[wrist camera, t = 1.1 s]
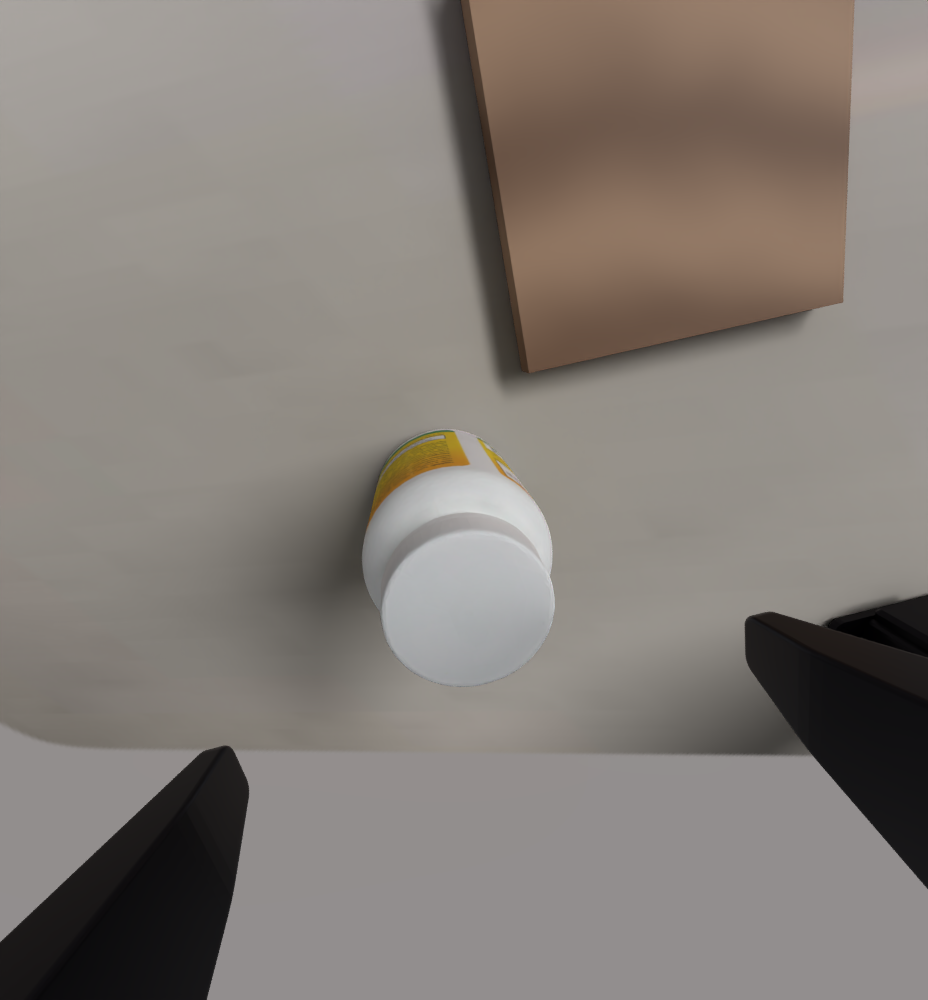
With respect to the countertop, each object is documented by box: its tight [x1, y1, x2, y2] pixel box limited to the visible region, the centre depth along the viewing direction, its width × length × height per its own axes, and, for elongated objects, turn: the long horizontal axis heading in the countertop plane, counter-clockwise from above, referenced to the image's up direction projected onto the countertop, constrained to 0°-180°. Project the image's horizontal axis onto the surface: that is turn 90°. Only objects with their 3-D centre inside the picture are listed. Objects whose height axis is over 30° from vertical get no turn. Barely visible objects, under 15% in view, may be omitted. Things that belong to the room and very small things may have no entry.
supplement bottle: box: [362, 429, 555, 687], centre depth 16 cm, size 5×5×10 cm
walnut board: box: [461, 0, 854, 373], centre depth 17 cm, size 12×12×1 cm
